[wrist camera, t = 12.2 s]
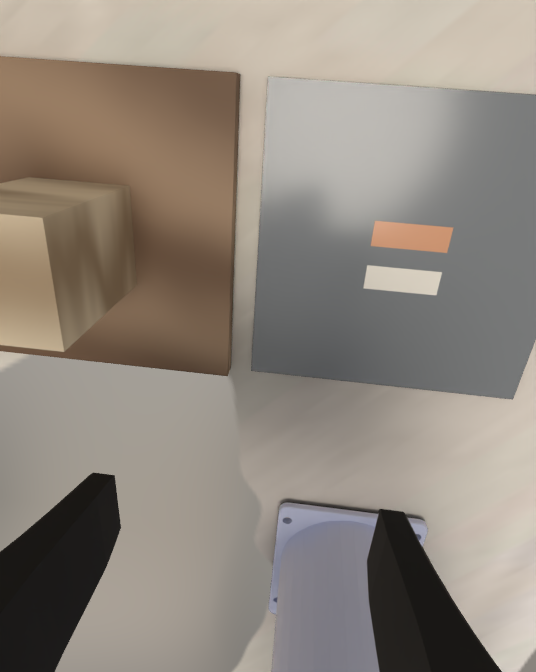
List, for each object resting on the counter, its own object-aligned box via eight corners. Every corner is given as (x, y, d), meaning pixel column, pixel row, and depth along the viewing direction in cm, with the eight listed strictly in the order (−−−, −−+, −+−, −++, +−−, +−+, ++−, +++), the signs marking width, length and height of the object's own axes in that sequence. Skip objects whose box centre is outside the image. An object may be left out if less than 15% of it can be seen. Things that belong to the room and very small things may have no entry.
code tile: (511, 398, 20) (512, 399, 20) (251, 369, 21) (251, 371, 21) (624, 101, 15) (626, 101, 15) (268, 76, 16) (268, 76, 15)
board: (230, 367, 21) (227, 376, 20) (-11, 340, 22) (-22, 348, 21) (240, 74, 16) (236, 72, 15) (-82, 52, 16) (-100, 49, 16)
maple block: (136, 284, 19) (64, 351, 13) (45, 275, 19) (-62, 337, 14) (129, 185, 17) (42, 217, 12) (29, 177, 17) (-102, 204, 12)
